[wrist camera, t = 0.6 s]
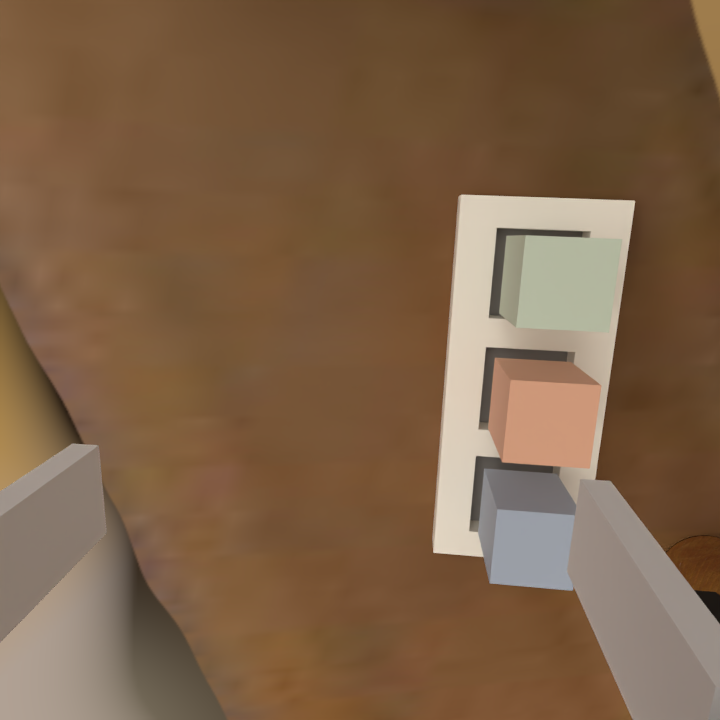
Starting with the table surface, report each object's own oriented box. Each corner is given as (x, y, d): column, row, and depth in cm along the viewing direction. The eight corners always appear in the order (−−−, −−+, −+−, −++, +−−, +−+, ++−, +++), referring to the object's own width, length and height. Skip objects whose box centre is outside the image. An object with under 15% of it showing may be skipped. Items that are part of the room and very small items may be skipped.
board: (458, 196, 38) (461, 194, 36) (623, 202, 37) (635, 200, 35) (432, 538, 44) (433, 552, 42) (575, 550, 43) (582, 565, 41)
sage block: (506, 235, 35) (525, 235, 29) (586, 238, 35) (622, 239, 29) (499, 313, 36) (516, 327, 31) (576, 317, 36) (609, 332, 30)
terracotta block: (494, 357, 37) (510, 380, 31) (571, 361, 37) (601, 385, 31) (488, 428, 38) (502, 462, 32) (561, 433, 38) (589, 468, 32)
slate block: (484, 468, 39) (497, 509, 33) (556, 473, 38) (583, 515, 33) (477, 532, 40) (489, 583, 34) (548, 538, 40) (572, 590, 34)
